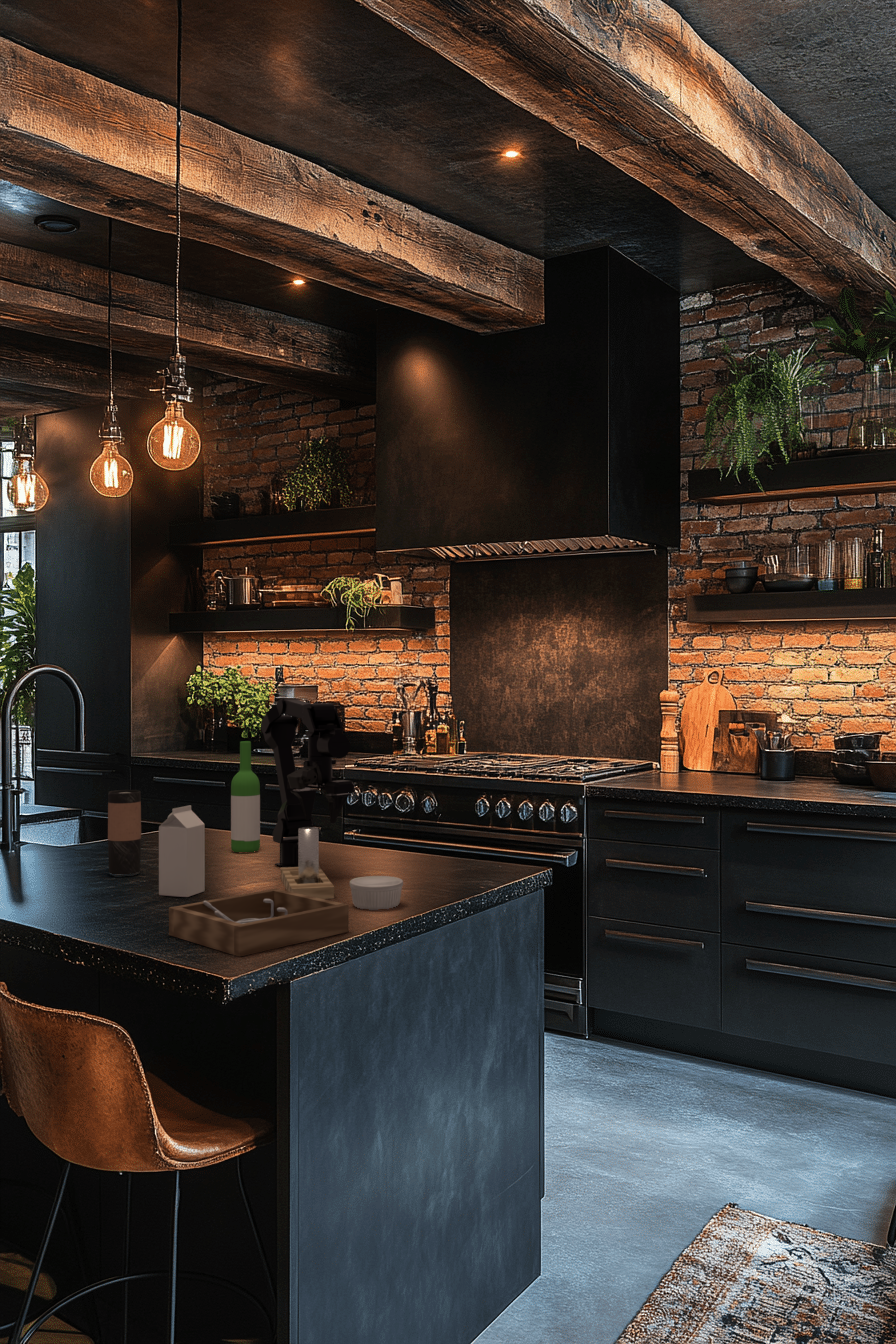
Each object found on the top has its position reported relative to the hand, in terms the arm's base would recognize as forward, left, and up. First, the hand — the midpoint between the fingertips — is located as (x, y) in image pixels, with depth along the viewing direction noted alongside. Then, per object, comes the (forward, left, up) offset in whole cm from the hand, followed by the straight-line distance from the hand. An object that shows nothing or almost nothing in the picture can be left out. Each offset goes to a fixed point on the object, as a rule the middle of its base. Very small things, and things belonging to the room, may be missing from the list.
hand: (320, 821), depth 251 cm
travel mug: (-36, -31, -13) cm, 49 cm away
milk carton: (-6, -34, -13) cm, 37 cm away
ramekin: (+34, -13, -13) cm, 39 cm away
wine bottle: (-43, +9, -13) cm, 46 cm away
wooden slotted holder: (+9, -11, -13) cm, 19 cm away
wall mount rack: (+33, -45, -13) cm, 58 cm away
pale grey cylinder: (+13, -14, -13) cm, 23 cm away
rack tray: (+36, -44, -13) cm, 58 cm away
